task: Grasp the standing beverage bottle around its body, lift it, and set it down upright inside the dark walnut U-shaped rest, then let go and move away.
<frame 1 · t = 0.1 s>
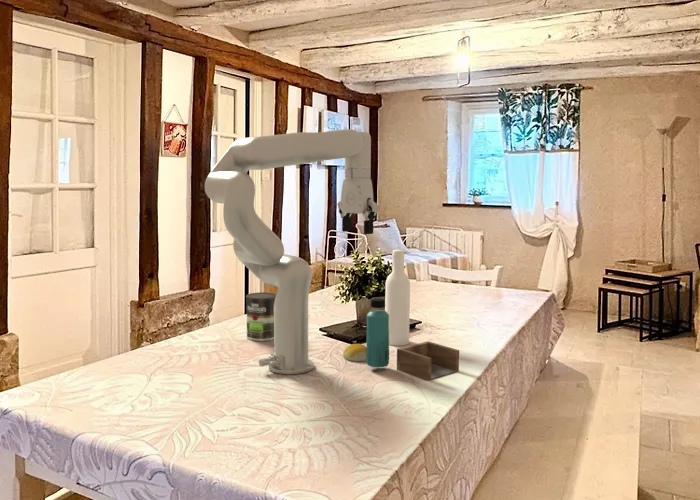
hand: (357, 232, 186), 37 cm above the table, tool pointing down, fingers open, 9 cm apart
beverage bottle: (377, 369, 175), on the table
u rest: (428, 370, 174), on the table
coffee can: (262, 337, 208), on the table
bread roll: (357, 358, 186), on the table
bottle: (396, 343, 202), on the table
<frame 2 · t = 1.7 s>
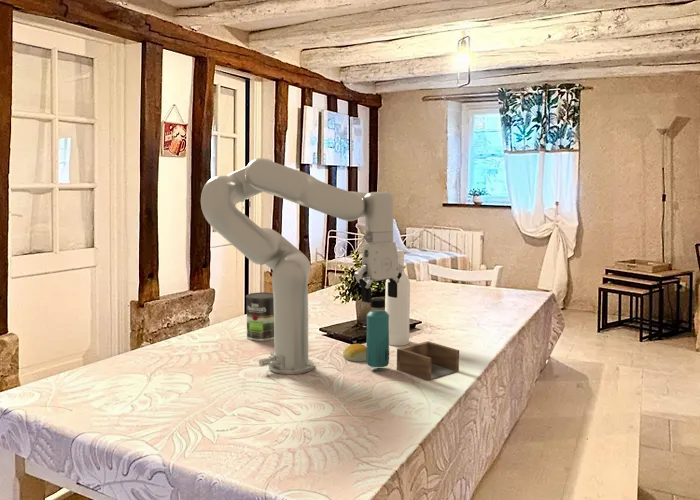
hand: (379, 299, 173), 20 cm above the table, tool pointing down, fingers open, 9 cm apart
nothing on the table moved.
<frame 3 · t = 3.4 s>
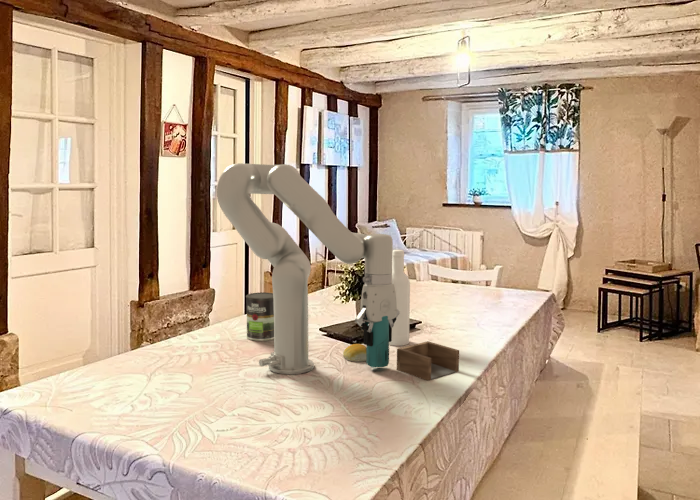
hand: (377, 342, 174), 8 cm above the table, tool pointing down, fingers closed on beverage bottle, 6 cm apart
beverage bottle: (377, 369, 175), on the table, touching gripper
everything else where it was.
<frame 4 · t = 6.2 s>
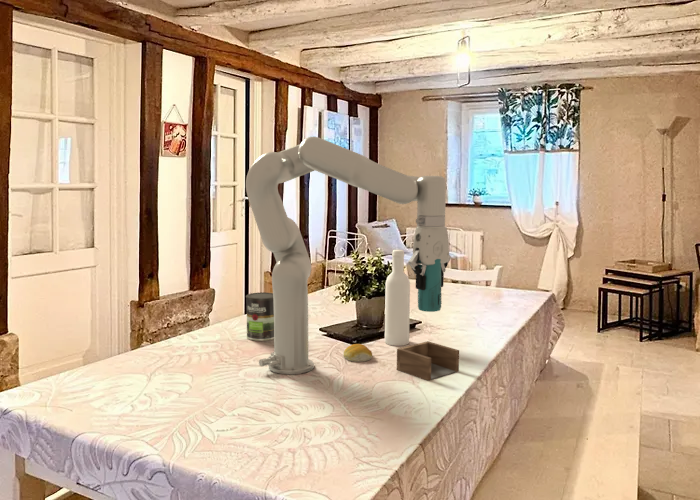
hand: (429, 287, 171), 24 cm above the table, tool pointing down, fingers closed on beverage bottle, 6 cm apart
beverage bottle: (429, 315, 172), point 16 cm above the table, touching gripper
everything else where it was.
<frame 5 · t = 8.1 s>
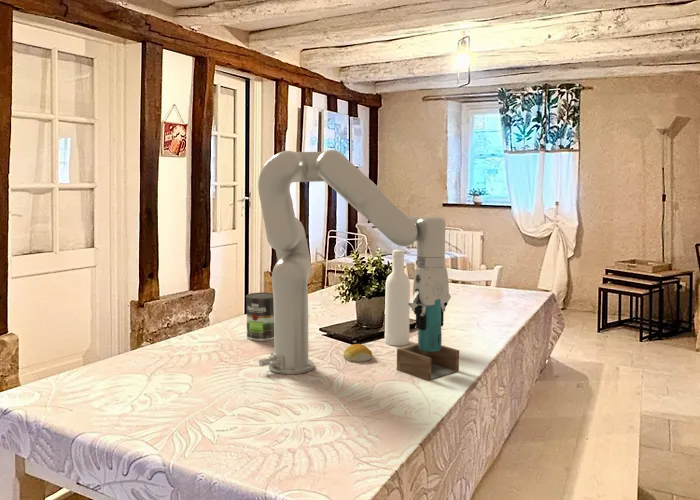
hand: (429, 326, 172), 13 cm above the table, tool pointing down, fingers closed on beverage bottle, 6 cm apart
beverage bottle: (429, 354, 173), point 5 cm above the table, touching gripper
everything else where it was.
when the fingers open (9 cm above the table, at t = 9.4 s): beverage bottle drops 1 cm, resting on u rest.
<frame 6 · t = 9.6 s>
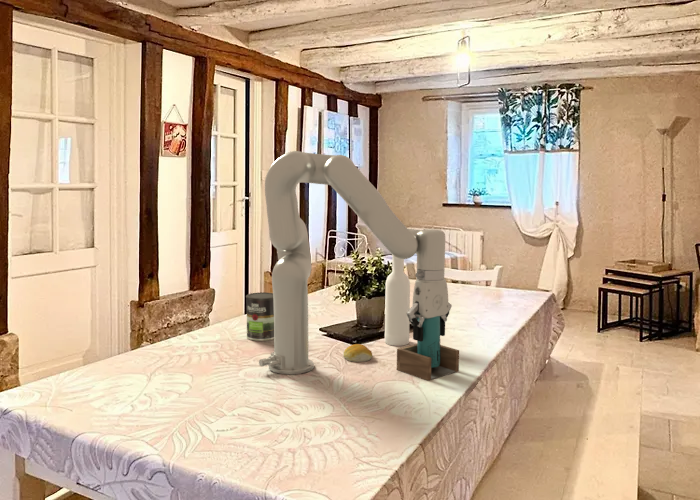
hand: (429, 337, 173), 10 cm above the table, tool pointing down, fingers open, 8 cm apart
beverage bottle: (428, 370, 174), resting on u rest
everything else where it was.
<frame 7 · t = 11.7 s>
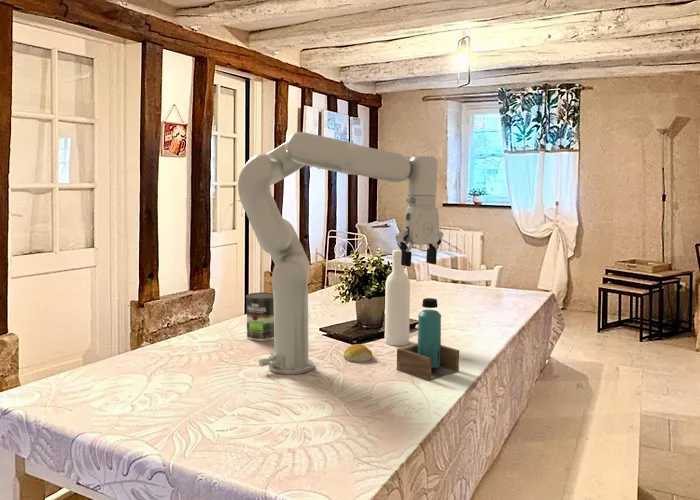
hand: (418, 264, 172), 30 cm above the table, tool pointing down, fingers open, 9 cm apart
nothing on the table moved.
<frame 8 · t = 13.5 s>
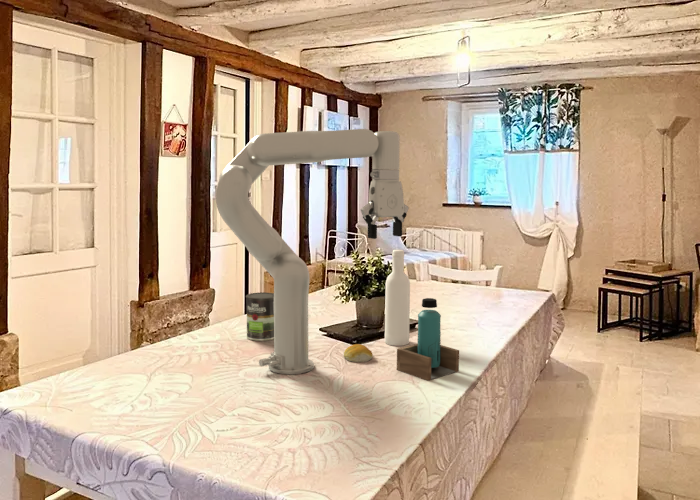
hand: (384, 237, 178), 36 cm above the table, tool pointing down, fingers open, 9 cm apart
nothing on the table moved.
at the end: beverage bottle inside the target area on the u rest (0.4 cm from its centre), point 0.1 cm above the u rest's base; beverage bottle tilted 0°; the gripper is holding nothing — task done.
